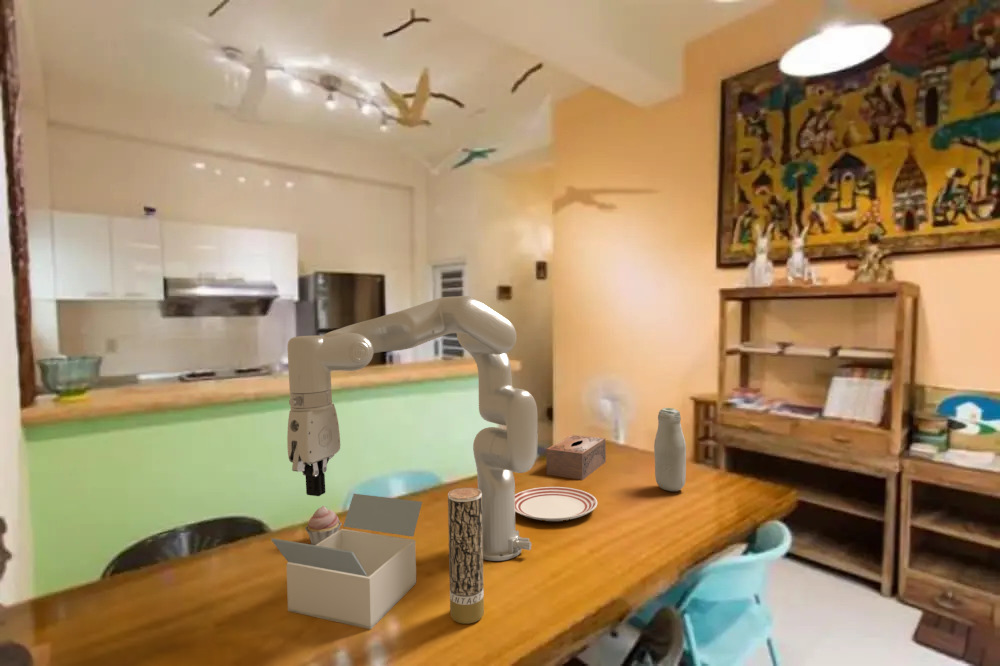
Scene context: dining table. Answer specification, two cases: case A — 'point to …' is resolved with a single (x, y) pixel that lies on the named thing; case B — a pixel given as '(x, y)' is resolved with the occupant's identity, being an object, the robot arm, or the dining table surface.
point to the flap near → (319, 556)
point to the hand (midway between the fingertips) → (316, 494)
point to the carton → (355, 580)
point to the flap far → (383, 514)
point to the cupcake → (322, 525)
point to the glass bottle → (670, 451)
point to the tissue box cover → (576, 456)
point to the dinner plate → (554, 503)
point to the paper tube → (466, 555)
